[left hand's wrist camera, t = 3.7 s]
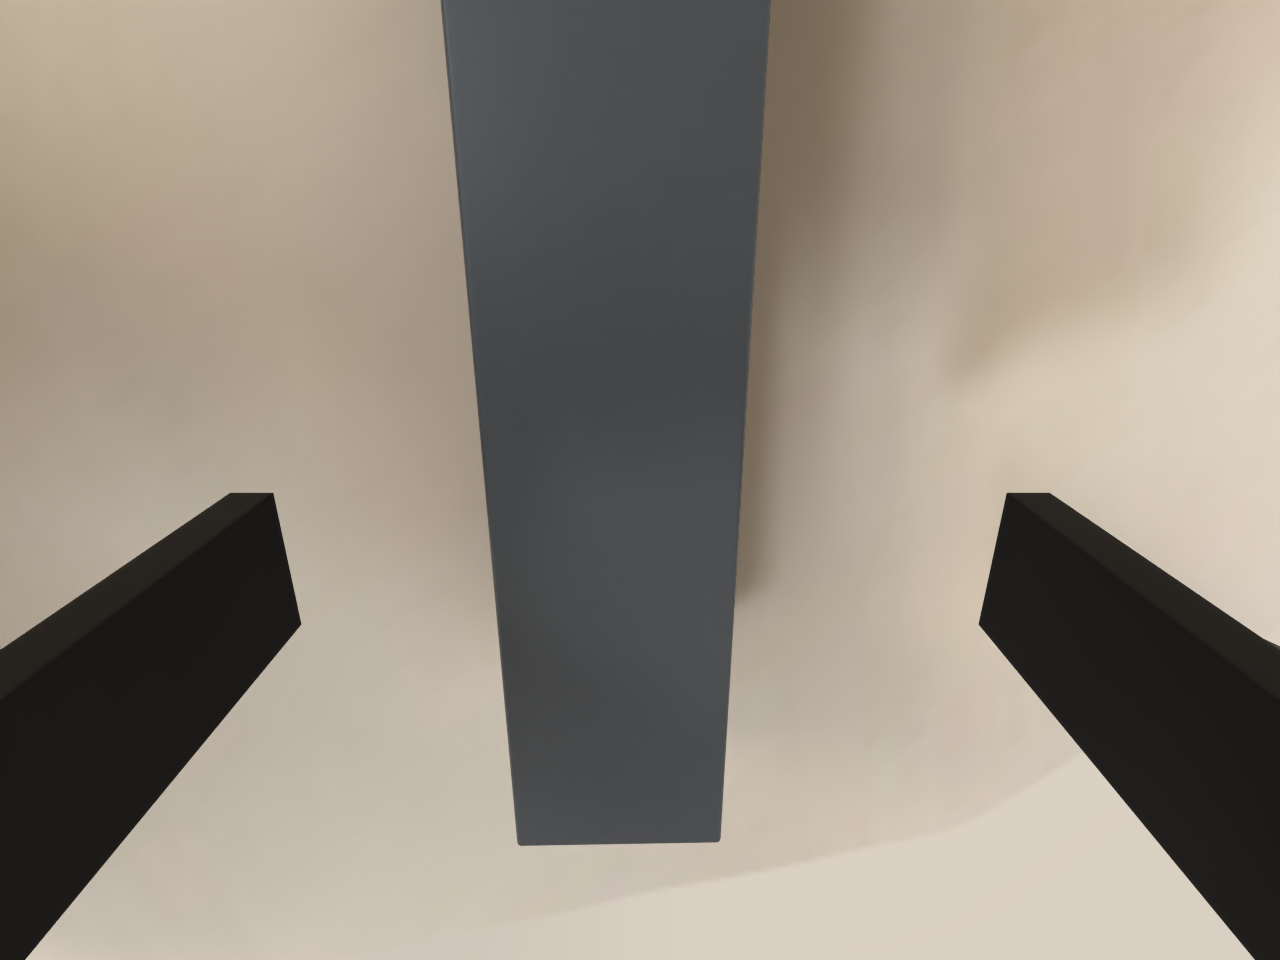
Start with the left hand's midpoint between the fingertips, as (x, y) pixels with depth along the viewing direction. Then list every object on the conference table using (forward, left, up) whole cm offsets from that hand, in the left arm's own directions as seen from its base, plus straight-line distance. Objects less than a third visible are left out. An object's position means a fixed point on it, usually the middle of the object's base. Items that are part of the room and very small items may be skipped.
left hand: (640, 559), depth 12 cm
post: (+23, +11, -9) cm, 27 cm away
